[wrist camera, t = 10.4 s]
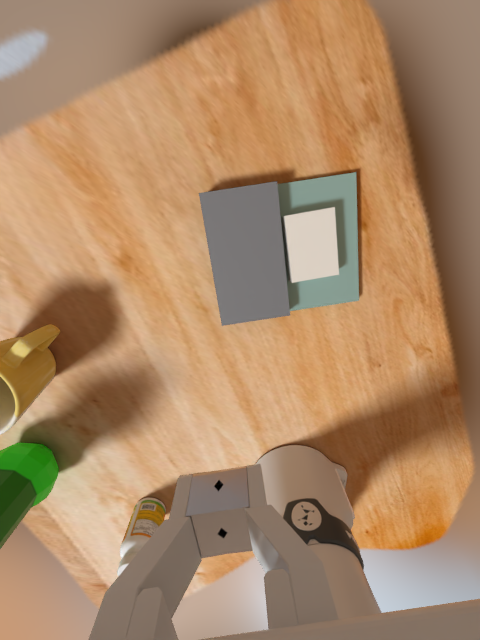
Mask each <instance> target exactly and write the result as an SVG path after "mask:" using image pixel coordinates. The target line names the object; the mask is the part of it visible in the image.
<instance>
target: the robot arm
mask: <svg viewBox="0 0 480 640" xmlns="http://www.w3.org/2000/svg"><path fill="white" fill-rule="evenodd" d="M346 481H347V472H346V469H345V468H344V467H343V466H340V465H338V464H335V463H332V462H331V461H330V460H328V459H327V458H326V457H325V456H324V455H323V454H322V453H321V452H319V451H317V450H316V449H313V448H311V447H307V446H301V445H289V446H284V447H280V448H277V449H274V450H272V451H270V452H268V453H267V454H265V455H264V456H263V457H261V458H260V459H259V460H258V461H257V463H256V464H255V465H249V466H243V467H237V468H231V469H224V470H219V471H211V472H203V473H195V474H189V475H180V476H179V478H178V480H177V485H176V489H175V494H174V498H173V503H172V507H171V512H170V516H169V519H168V520H164V521H163V523H162V524H161V525H160V526H159V528H158V529H157V530H156V531H155V532H154V534H153V535H152V536H151V537H150V539H149V540H148V541H147V542H146V544H145V545H144V546H143V547H142V548H141V550H140V551H139V552H138V553H137V555H136V556H135V557H134V558H133V559H132V561H131V562H130V563H129V564H128V566H127V567H126V568H125V569H124V571H123V572H122V573H121V574H120V575H119V577H118V578H117V579H116V580H115V582H114V583H113V584H112V585H111V586H110V588H109V589H108V590H107V591H106V593H105V595H104V598H103V601H102V604H101V606H100V609H99V612H98V615H97V618H96V621H95V623H94V626H93V629H92V632H91V634H90V637H89V640H178V638H177V635H176V632H175V629H174V626H173V623H172V620H171V618H172V617H173V615H174V613H175V611H176V609H177V607H178V605H179V603H180V601H181V599H182V597H183V595H184V593H185V591H186V590H187V588H188V586H189V584H190V582H191V580H192V578H193V576H194V574H195V572H196V570H197V568H198V566H199V564H200V562H201V558H206V557H211V556H217V555H222V554H228V553H237V552H246V551H253V553H254V555H255V556H256V558H257V560H258V561H259V563H260V565H261V566H262V568H263V569H264V571H265V573H266V575H265V577H264V582H265V594H266V604H267V615H268V628H269V630H262V631H255V632H248V633H241V634H234V635H227V636H220V637H214V638H207V639H200V640H480V599H476V600H469V601H462V602H455V603H448V604H442V605H434V606H427V607H421V608H413V609H407V610H400V611H393V612H386V613H381V611H380V608H379V606H378V604H377V602H376V600H375V598H374V595H373V593H372V590H371V588H370V586H369V584H368V581H367V579H366V576H365V574H364V572H363V568H364V565H363V560H362V558H361V555H360V550H359V547H358V545H357V542H356V540H355V539H354V537H353V535H352V532H351V528H352V526H353V519H354V518H355V516H354V512H353V509H352V507H351V504H350V502H349V499H348V497H347V494H346V492H345V486H346Z"/></svg>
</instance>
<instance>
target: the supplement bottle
mask: <svg viewBox="0 0 480 640" xmlns="http://www.w3.org/2000/svg"><path fill="white" fill-rule="evenodd" d="M165 512H166V508H165V505H164V504H163V503H162V502H161V501H160V500H158V499H156V498H144V499H141V500H140V501H139V502H138V503H137V504H136V505H135V508H134V510H133V513H132V516H131V519H130V522H129V525H128V528H127V530H126V533H125V536H124V539H123V541H122V544H121V548H120V556H121V558H122V559H121V561H120V564H119V567H118V571H117V574H118V576H119V575H120V574H121V573H122V572H123V571H124V569H125V568H126V567H127V566H128V564H129V563H130V562H131V561H132V559H133V558H134V557H135V556H136V555H137V553H138V552H139V551H140V550H141V548H142V547H143V546H144V545H145V544H146V542H147V541H148V540H149V539H150V537H151V536H152V535H153V534H154V532H155V531H156V530H157V529H158V528H159V526H160V525H161V524H162V523H163V521H164V517H165Z"/></svg>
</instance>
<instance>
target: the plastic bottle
mask: <svg viewBox="0 0 480 640" xmlns="http://www.w3.org/2000/svg"><path fill="white" fill-rule="evenodd" d="M58 472H59V468H58V465H57V462H56V460H55V457H54V455H53V453H52V450H50V449H49V448H47V447H46V446H44V445H43V444H36V443H16V444H14V445H12V446H9V447H7V448H5V449H3V450H1V451H0V549H1V547H2V546H3V545H4V543H5V542H6V541H7V539H8V538H9V537H10V535H11V534H12V533H13V531H14V530H15V528H16V527H17V526H18V524H19V523H20V522H21V520H22V519H23V518H24V516H25V515H26V514H27V512H28V511H29V510H30V508H31V507H33V506H35V505H37V504H38V503H40V502H41V501H43V500H44V499H45V498H47V496H48V495H49V493H50V492H51V490H52V488H53V486H54V483H55V481H56V479H57V476H58Z"/></svg>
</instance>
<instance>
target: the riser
mask: <svg viewBox="0 0 480 640" xmlns="http://www.w3.org/2000/svg"><path fill="white" fill-rule="evenodd" d="M199 196H200V202H201V208H202V213H203V219H204V225H205V231H206V236H207V242H208V248H209V254H210V259H211V265H212V271H213V277H214V282H215V288H216V294H217V300H218V305H219V311H220V317H221V323H222V326H223V325H229V324H236V323H243V322H249V321H256V320H262V319H269V318H276V317H282V316H289V315H290V308H289V298H288V288H287V277H286V267H285V257H284V247H283V236H282V226H281V216H280V205H279V195H278V185H277V181H276V182H269V183H263V184H256V185H250V186H243V187H237V188H230V189H224V190H217V191H211V192H204V193H199Z"/></svg>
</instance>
